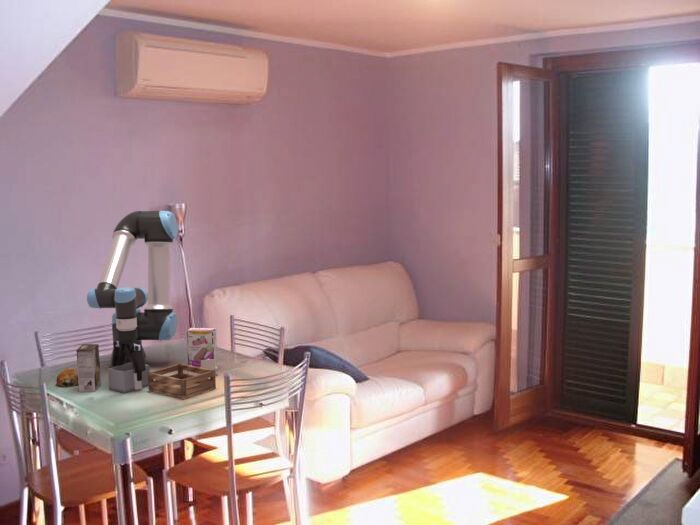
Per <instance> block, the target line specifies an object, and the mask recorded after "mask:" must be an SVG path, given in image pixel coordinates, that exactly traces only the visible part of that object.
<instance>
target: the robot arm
mask: <svg viewBox="0 0 700 525" xmlns="http://www.w3.org/2000/svg"><path fill="white" fill-rule="evenodd" d="M178 234H179V227H178V222H177V218H176V216H175V214H174V213H173V212H171V211H169V210H136V211H132V212H130V213H127V215H125V216H124V217H123V218H122V219H121V220H120V221H119V222H118V223H117V224H116V226H115V228H114V229H113V233H112V235H111V238H112V243H111V246H110V249H109V252H108V255H107V257H106V260H105V264H104V266H103V269H102V272H101V275H100V278H99V280H98V284H97V287H96V288H95V287H94V288H91V289H89V290H88V291H87V295H86V301H87V302H86V303H87V304H88V306H89V307H90V308H93V309H115V312H114V313H113V314H112V315H111V327H112V328H111V331H112V346H113V347H112V351H111V354H110V359H109V367H110V368H112V367H116V366H120V365H123V364H127V363H131V362H132V364H133V366H134V369H135V372H134V384H135V390H134V391H137V390H141V389H143V388H142V382H141V380H142V371H145V370H146V368H145V364H148V357H147V355H146V353H145V350H144V347H143V344H142V343H143V342H142V341H160V342H161V341H170V340H172V339H173V338H174V336H175V335H176V332H177V329H178V321H179V319H178V314H177V313H176V312H174V311H173V310H174V309H173V307H172V305H170V247H171V246H172V245H173V244H174V240H175V239H177V237H178ZM138 239H142V240H144V244H145V245H146V246H147V258H148V259H147V290H146V289H145V288H143V287H132V286H130V287H129V286H124V287H122V286H121V287H119V285H120V281H121V278H122V276H123V273H124V269H125V267H126V263H127V260H128V257H129V254H130V251H131V248H132V246H134V245H135V243H136V241H137V240H138ZM146 304H147V305H146ZM145 305H146V306H145ZM144 306H145V307H144ZM142 307H144V308H143V309H144V310H143V311H144V312H143V311H141V309H140V308H142Z"/></svg>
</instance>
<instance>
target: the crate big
mask: <svg viewBox="0 0 700 525" xmlns="http://www.w3.org/2000/svg"><path fill="white" fill-rule="evenodd" d="M184 371H187V372H190V373H191V372H192V373H195V374H197V375H193V374H189V373H184ZM173 372H177V373H174V374H171V375H167V374H169V373H173ZM216 386H217V385H216V369H215V370H209V369H205V368H200V367H195V366H190V365H188V364H185V363H183V362H179V363H177V364H173V365H171V366H167V367H163V368H160V369H157V370H154V371H150V372H148V386H147V387H148V392H153V393H157V394H161V395H165V396H169V397H174V398H178V399H182V400H185V399H189V398H191V397H195V396H197V395H200V394H203V393H207V392H209V391H212V390H214V389H217V387H216Z"/></svg>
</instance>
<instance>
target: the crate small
mask: <svg viewBox="0 0 700 525" xmlns="http://www.w3.org/2000/svg"><path fill="white" fill-rule="evenodd" d="M145 368H146V370H145V371H142V380H141V382H142V388H141V389H143V388H147V387H148V372H151V371H150V365H149V364H148V363H146V364H145ZM107 372H108V373H107V374H108V389H109V390H110V391H114V392H118V393H122V394H126V393H130V392H133V391H136V390H135V384H134V372H135V369H134V366H133V364H132V362H131V363H127V364H123V365H120V366H116V367H110V368H109V367H108V369H107Z"/></svg>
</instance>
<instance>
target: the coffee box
mask: <svg viewBox="0 0 700 525" xmlns="http://www.w3.org/2000/svg"><path fill="white" fill-rule="evenodd" d="M99 346H100V345H99V344H98V343H95V344H94V343H93V344H92V343H88V344H87V343H86V344H83V343H82V344H81V345H80V346H79V347H78V348H77V349H76V362H77V363H76V364H77V369H78V383H79V385H78V393H79V392H80V393H81V392H82V393H83V392H96V391H97V390H98V389H99V387H100V386H101V385H102V379H101V378H102V377H101V367H100V366H101V363H100V348H99Z"/></svg>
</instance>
